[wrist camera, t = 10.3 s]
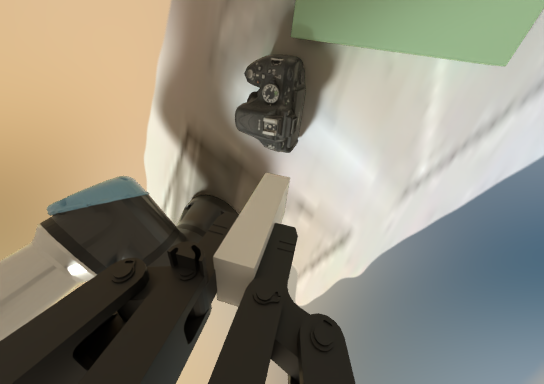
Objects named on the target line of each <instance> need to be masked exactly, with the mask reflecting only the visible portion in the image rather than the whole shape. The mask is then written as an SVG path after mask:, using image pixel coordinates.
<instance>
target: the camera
mask: <svg viewBox="0 0 544 384" xmlns="http://www.w3.org/2000/svg"><path fill="white" fill-rule="evenodd" d="M244 74H245V77H246V79H247V81H248V82H249V83H250V84H252V85H254V86H257V87H260V89H259V90H258V91H257V92H252V93H251V94H250V95H249V98H248V100H247V103H243V104H241V105H240V106H239V107H238V108H237V109H236V113H235V123H236V127H237V129H238V130H239V131H241V132H243V133H246V134H248V135H251V136H253V137H255V138H257V139H258V140H259V141H260V142H261V143H262V144H263V145H264V147H266V148H268V149H271V150H274V151H277V152H286V153H289V152H291V151H292V150H293V148H294V147H295V146H296V144H297V142H298V136H299V129H300V123H301V117H302V111H303V104H304V98H305V70H304V67H303V62H302V60H301V59H300V58H298V57H294V56H288V55H268V56H265V57H262V58H260V59H258V60H256V61H255V62H253V63H252V64H250V65H249V66H248V67H247V69H246V71H245V73H244Z"/></svg>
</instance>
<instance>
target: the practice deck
mask: <svg viewBox="0 0 544 384" xmlns="http://www.w3.org/2000/svg"><path fill="white" fill-rule="evenodd" d="M543 8H544V0H296V2H295V9H294V16H293V24H292V31H291V37H293V38H297V39H305V40H312V41H319V42H326V43H334V44H341V45H348V46H355V47H363V48H370V49H377V50H384V51H392V52H399V53H406V54H413V55H421V56H428V57H435V58H442V59H450V60H457V61H464V62H471V63H479V64H486V65H495V66H506V65H507V63H508V62H509V60H510V59H511V57H512V56H513V54H514V53H515V51H516V50H517V48H518V47H519V45H520V43H521V42H522V40H523V39H524V37H525V36H526V34H527V33H528V31H529V30H530V28H531V27H532V25H533V24H534V22H535V21H536V19H537V17H538V16H539V14H540V13H541V11H542V10H543Z"/></svg>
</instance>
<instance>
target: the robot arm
mask: <svg viewBox="0 0 544 384" xmlns="http://www.w3.org/2000/svg"><path fill="white" fill-rule="evenodd" d="M289 181H290V178H289V177H285V176H280V175H275V174H270V173H265V175H264V176H263V178H262V179H261V181H260V182H259V184H258V186H257V187H256V189H255V190H254V192H253V194H252V195H251V197H250V198H249V200H248V202H247V203H246V205H245V206H244V208H243V210H242V211H241V213H240V214H237V213H236V212H235V211H234V209H233V208H232V207H231V206H229V205H228V204H227V203H226V202H224V201H222V200H220V199H218V198H216V197H213V196H208V195H201V196H197V197H195V198H193V199H192V200H191V201H190V202H189V203H188V204H187V205H186V207H185V208H184V211H183V213H182V215H181V217H180V220H179V222H178V224H177V226H175V225H174V224H173V223H172V221H171V220H170V219H169V218H168V217H167V216H166V214H165V213H164V212H163V211H162V210H161V209H160V207H159V206H158V205H157V204H156V203H155V202H154V200H153V199H152V198H151V197H150V196H149V195H148V194H149V193H148V192H146V191H145V190H144V189H143V188H142V187H141V186H140V185H139V184H138V183H137V182H136V181H135V180H134V179H133V178H131V177H127V176H120V177H116V178H113V179H110V180H107V181H105V182H102V183H99V184H97V185H95V186H92V187H89V188H87V189H84V190H82V191H80V192H77V193H75V194H72V195H70V196H68V197H67V198H64V199H62V200H60V201H57V202H55V203H53V204H51V205H49V206H48V207H47V211H48V214H49V215H53V216H52V217H50V218H49V219H47V220H45V221H43V222H42V223H40V224H38V226H37V229H36V233H35V237H34V239H33V241H32V242H31V243H29V244H27V245H26V246H24V247H22V248H21V249H19V250H17V251H16V252H14V253H12V254H11V255H9V256H8V257H6V258H4V259H2V260H1V261H0V384H176V382H177V380H178V378H179V376H180V374H181V372H182V370H183V368H184V366H185V364H186V362H187V360H188V358H189V356H190V354H191V352H192V350H193V348H194V346H195V344H196V342H197V340H198V338H199V336H200V334H201V332H202V329H203V327H204V325H205V323H206V321H207V319H208V317H209V315H210V312H211V309H212V308H211V303H212V301H213V299H214V297H215V295H216V293H217V300H219V301H222V302H225V303H228V304H231V305H234V306H238V310H237V312H236V315H235V317H234V320H233V322H232V325H231V327H230V330H229V332H228V335H227V337H226V340H225V342H224V345H223V347H222V350H221V352H220V355H219V357H218V360H217V362H216V365H215V367H214V370H213V372H212V375H211V377H210V380H209V382H208V384H265V381H266V377H267V372H268V367H269V363H270V359H272V360H273V361H274V362H275V363H276V364H278V366H280V367H281V368H282V369H283V370H284V371H285V372H286V373H287V374H288V384H355V380H354V376H353V372H352V367H351V363H350V359H349V355H348V350H347V346H346V342H345V338H344V336H343V333H342V331H341V328H340V327H339V326H338V325H337V323H336V322H335V321H334V320H332V319H331V318H330V317H328V316H326V315H322V314H311V315H310V314H308V313H307V312H306V311H304V310H303V309H301V308H300V307H299V306H298V305H296V304H295V303H294V302H293V300H292V299H291V297H290V295H289V293H288V288H287V284H288V278H289V274H290V269H291V265H292V260H293V256H294V251H295V246H296V242H297V237H298V235H297V232H296V229H295V227H291V226H287V225H283V224H281V222H282V219H283V216H284V213H285V206H286V200H287V194H288V188H289ZM86 281H87V282H86ZM83 282H86V283H85V284H83V285H82V286H80V287H79V288H77V289H76V290H75V291H73V292H71V291H72V290H73V289H74V288H76V287H77V286H78V285H79V284H81V283H83ZM69 292H71V293H70V294H69V295H67V294H68V293H69ZM65 295H67V296H66V297H64V296H65ZM63 297H64V298H63ZM62 298H63V299H62ZM60 299H61V300H60ZM59 300H60V301H59Z"/></svg>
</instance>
